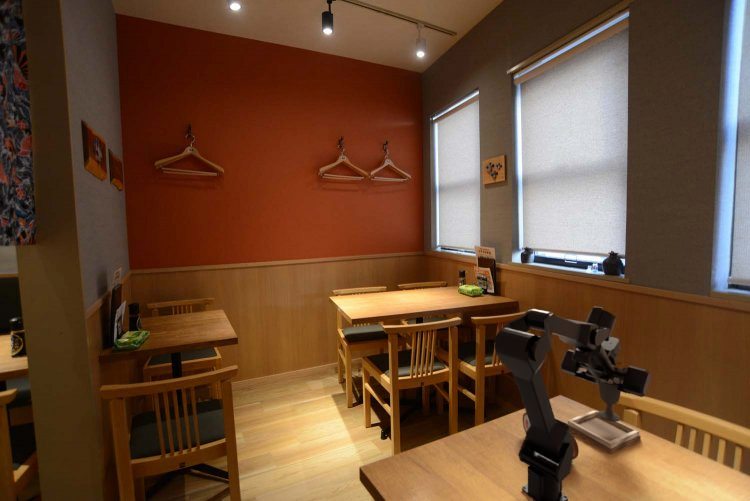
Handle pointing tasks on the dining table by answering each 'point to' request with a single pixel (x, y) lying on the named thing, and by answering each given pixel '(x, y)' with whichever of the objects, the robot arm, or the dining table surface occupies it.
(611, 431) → the board
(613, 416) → the sundae
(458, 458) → the dining table surface
